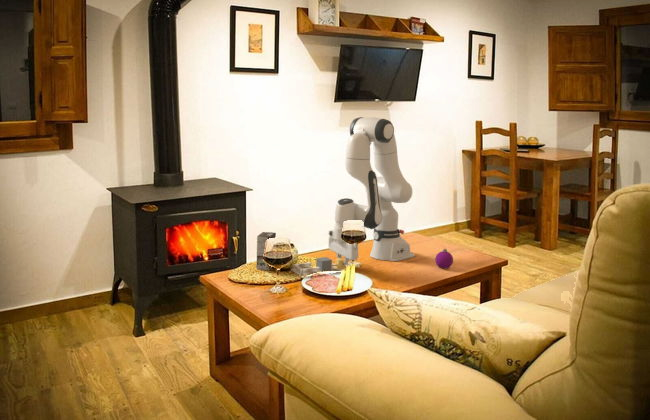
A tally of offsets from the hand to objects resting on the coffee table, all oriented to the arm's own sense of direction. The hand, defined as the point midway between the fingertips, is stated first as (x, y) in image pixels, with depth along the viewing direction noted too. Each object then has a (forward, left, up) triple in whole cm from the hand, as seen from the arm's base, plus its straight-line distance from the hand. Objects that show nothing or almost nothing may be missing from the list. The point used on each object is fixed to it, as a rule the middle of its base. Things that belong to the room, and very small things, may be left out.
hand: (342, 264), depth 275 cm
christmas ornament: (-45, +18, -3) cm, 48 cm away
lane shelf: (+11, 0, -2) cm, 11 cm away
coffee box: (+32, -14, -3) cm, 35 cm away
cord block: (+6, 0, -1) cm, 7 cm away
